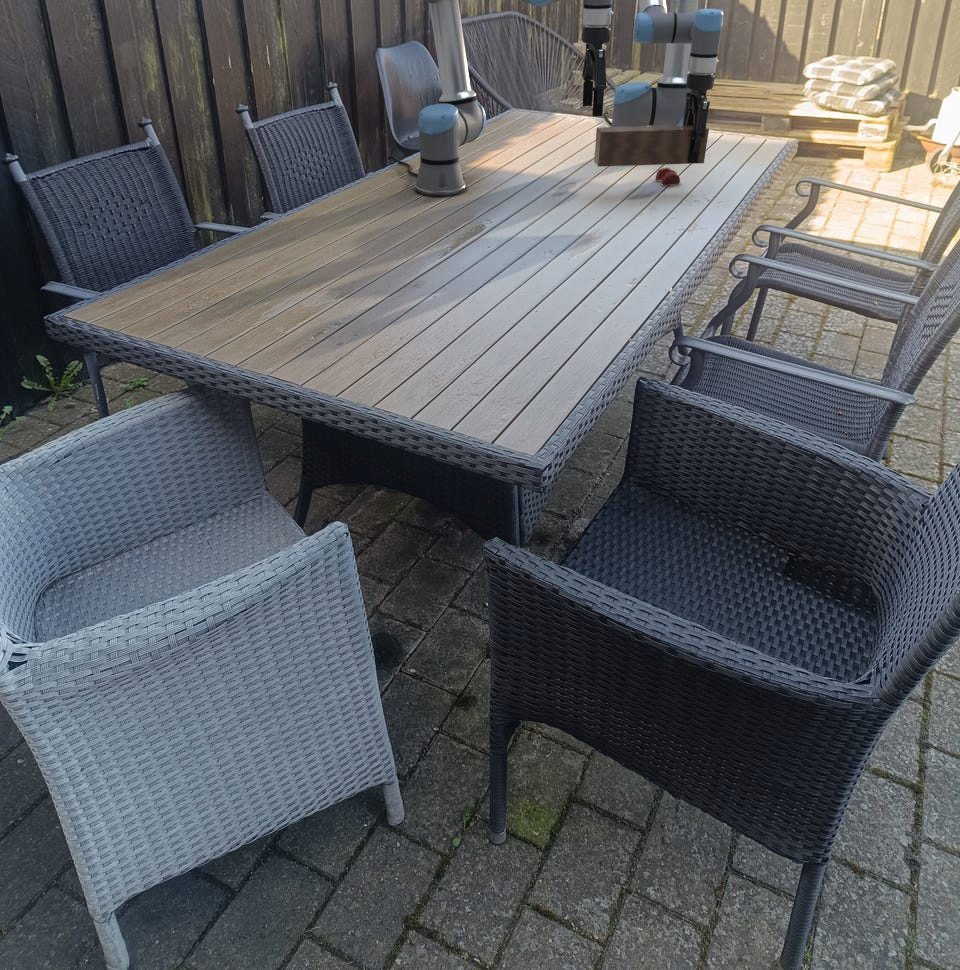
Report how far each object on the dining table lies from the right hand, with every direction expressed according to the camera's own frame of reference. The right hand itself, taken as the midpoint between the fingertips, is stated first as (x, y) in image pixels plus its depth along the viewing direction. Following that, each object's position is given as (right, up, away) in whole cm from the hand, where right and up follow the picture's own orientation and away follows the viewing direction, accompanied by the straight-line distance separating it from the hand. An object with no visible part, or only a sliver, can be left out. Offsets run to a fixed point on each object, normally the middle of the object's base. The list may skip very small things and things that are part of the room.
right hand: (689, 159), depth 248 cm
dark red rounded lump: (-3, -1, +17) cm, 17 cm away
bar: (-12, -1, -1) cm, 12 cm away
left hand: (-30, +10, -10) cm, 33 cm away
